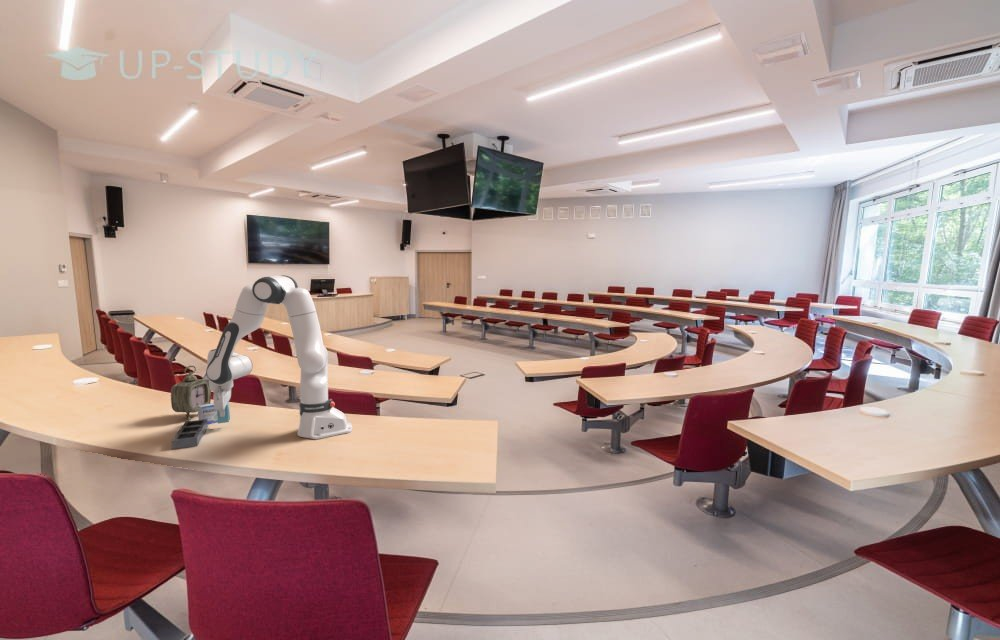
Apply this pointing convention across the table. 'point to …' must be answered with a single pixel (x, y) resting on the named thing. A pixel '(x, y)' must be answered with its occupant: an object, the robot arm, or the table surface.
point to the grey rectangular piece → (190, 434)
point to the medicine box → (207, 413)
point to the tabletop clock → (190, 394)
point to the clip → (227, 415)
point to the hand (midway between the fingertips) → (223, 414)
